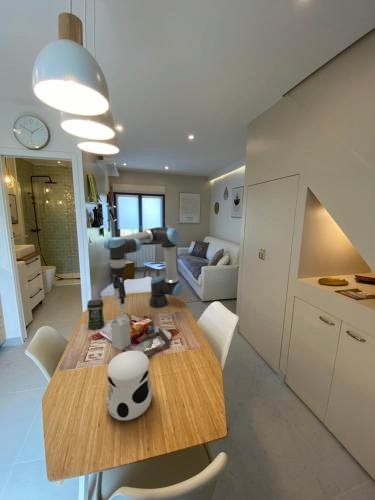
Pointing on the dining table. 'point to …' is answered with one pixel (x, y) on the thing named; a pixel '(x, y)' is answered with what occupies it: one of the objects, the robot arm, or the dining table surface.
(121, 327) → the milk carton
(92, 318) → the coffee jar
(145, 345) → the bay
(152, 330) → the winch drum
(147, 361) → the milk container
